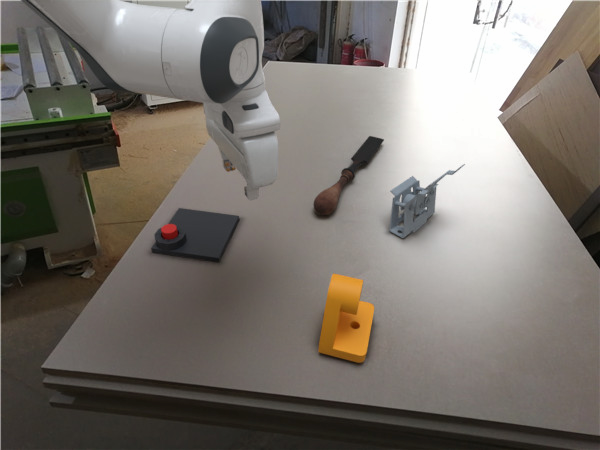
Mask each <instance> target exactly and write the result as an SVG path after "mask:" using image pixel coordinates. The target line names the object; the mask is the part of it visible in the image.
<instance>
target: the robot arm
mask: <svg viewBox="0 0 600 450" xmlns="http://www.w3.org/2000/svg"><path fill="white" fill-rule="evenodd" d="M20 1H21V2H22V3H23V4H25V6H26V7H28V8H29V9H30V10H31V11H33V12H34V13H35V14H36V15H37V16H39V18H40V19H42V20H43V21H44V22H45V23H47V25H49V26H50V27H51V28H52V29H54V31H56V32H57V33H58V34H59V35H60V36H61V37H63V38H64V39H65V40H66V41H67V42H69V44H70V45H71V46H72V47H73V48H75V50H76V52H78V54H79V55H80V56H81V57H82V59H83V60H84V62H85V63H86V65H87V66H88V68H89V69H90V70H91V71H92V73H93V75H94V76H95V77H96V78H97V80H98V81H99V82H100V83H101V84H102V85H103V86H104V87H106V88H107V89H108V90H111V91H112V92H115V93H118V94H128V95H130V94H132V95H146V96H147V95H148V96H155V97H161V98H166V99H174V100H181V101H190V102H195V103H196V102H197V103H202V107H203V114H204V118H205V128H206V132H207V135H208V136H209V137H210V138H211V140H212V141H213V142H214V144H216V146H217V149H218V151H219V154H220V157H221V160H222V161H221V162H222V167H223V168H224V170H225V171H226V172H227V173H229V172H233V171H235V170H237V171H238V173H239V174H240V175H241V176H242V178H243V179H244V180H245V182H246V186H244V187H243V191H244V196H245V197H246V198H247V200H249V201H253V200H257V199H259V197H260V189H261V188H264V187H267V186H271V185H273V184H274V183H275V182H276V180H277V178H278V171H279V140H278V137H277V134H276V132H277V131H279V130H281V117H280V115H279V113H278V111H277V110H276V108H275V107H274V104H272V101H271V98H270V97H269V94H268V91H267V90H266V76H265V72H264V68H263V63H262V62H263V61H262V59H263V53H264V50H265V29H264V16H263V6H262V0H190V1H188V3H187V4H186V5H184V8H178V7H177V8H176V7H167V6H159V5H158V6H157V5H148V4H139V3H134V2H128V1H124V0H20Z"/></svg>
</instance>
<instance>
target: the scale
mask: <svg viewBox="0 0 600 450" xmlns="http://www.w3.org/2000/svg"><path fill="white" fill-rule="evenodd" d="M239 222H240V215H236V214H228V213H221V212H220V213H219V212H212V211H205V210H198V209H189V208H183V207H178V209H177V210H176V212H175V214H173V216H172V218H171V219H170V220H169V222H168V223H167V224H174V225H175V226H176V227H177V232H178V236H177V237H176V238H174V239H170V240H167V239H164V238H163V236H162V232H161V228H162V227H160V228H158V229H157V230H156V231H155V233H154V241H155V242H154V244H152V246H151V248H150V249H151V253H153V254H159V255H167V256H175V257H181V258H186V259H187V258H188V259H194V260H202V261H208V262H215V263H220V261H221V260H222V257H223V255H224V253H225V251H226V249H227V247H228V245H229V242H230V241H231V238H232V236H233V234H234V232H235V230H236V228H237V226H238V224H239Z"/></svg>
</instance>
